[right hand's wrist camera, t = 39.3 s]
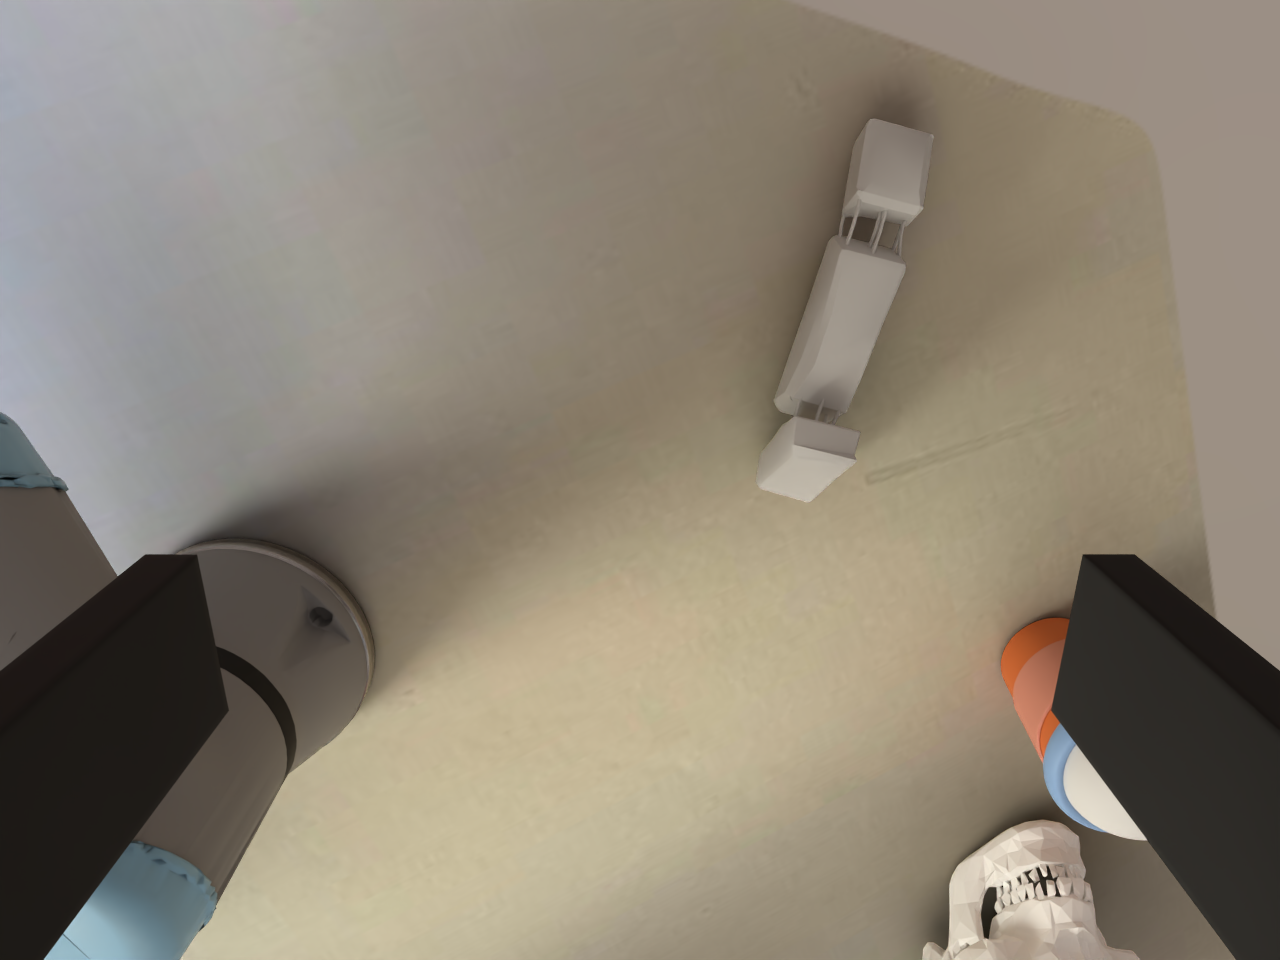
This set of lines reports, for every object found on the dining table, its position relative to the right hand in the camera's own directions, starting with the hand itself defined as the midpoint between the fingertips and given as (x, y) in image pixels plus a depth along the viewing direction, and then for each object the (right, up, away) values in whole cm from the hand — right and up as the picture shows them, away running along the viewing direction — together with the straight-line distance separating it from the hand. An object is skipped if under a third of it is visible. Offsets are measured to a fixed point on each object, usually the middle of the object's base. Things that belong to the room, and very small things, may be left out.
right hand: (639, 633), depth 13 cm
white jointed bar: (+11, +11, +34) cm, 38 cm away
